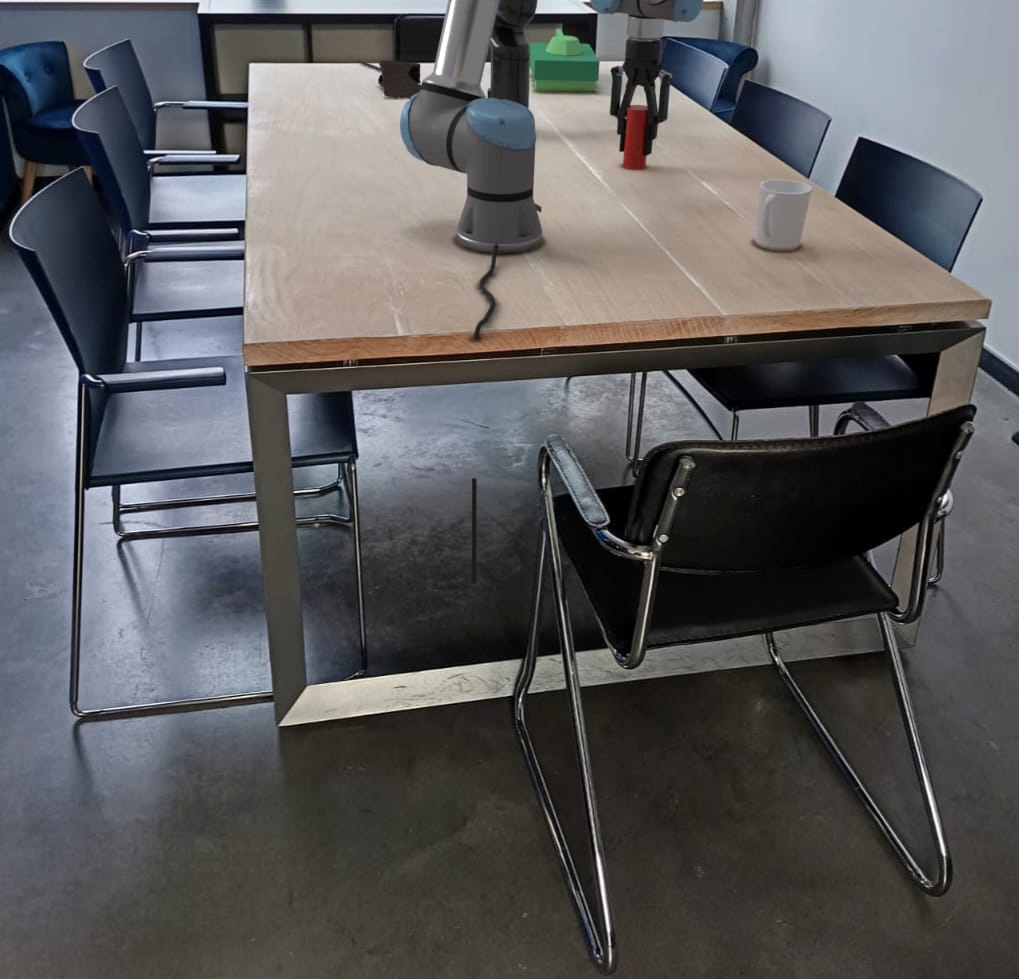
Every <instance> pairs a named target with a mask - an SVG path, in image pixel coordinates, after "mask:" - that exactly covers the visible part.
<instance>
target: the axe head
mask: <svg viewBox="0 0 1019 979" xmlns="http://www.w3.org/2000/svg"><path fill="white" fill-rule="evenodd" d="M378 67H379V68H380V69H381V71H380V72H381V74H379V75H378V79H377V84H378V85H379V86H380V87H381V88H382V89H383V95H384V96H385V97H388V98H394V99H395V98H396V99H403V98H405V99H406V98H407V99H410V98H411V97H412V96H413V95H415V94H418V93H420V90H421V84H422V81H421V63H419V62H410V61H408V62H407V61H397V60H388V59H387V60H380V61H379V62H378Z"/></svg>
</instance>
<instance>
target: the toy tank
mask: <svg viewBox="0 0 1019 979" xmlns="http://www.w3.org/2000/svg"><path fill="white" fill-rule="evenodd" d="M529 44H530V74H531V75H530V76H532V77H533V81H534V91H535V92H536V91H538V92H595V89H596V82H599V78H600V77H599V76H600V62H601V61H600V60H599V58H598V57H597V55H596V53H595V52H594V50H593V48H592V47H591V45H590V43H581V42H580V40H579V38H578V37H576V36H573V35H564V33H563V30H562V29H561V28H555V35H554V36H553V37H551V39H550V41H549V42H529Z"/></svg>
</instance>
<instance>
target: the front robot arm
mask: <svg viewBox="0 0 1019 979" xmlns="http://www.w3.org/2000/svg"><path fill="white" fill-rule="evenodd" d="M589 2H590V4H591V6H592V8H593V9H594V10H595V11H596V12H597V13H599V14H602V15H607V14H608V15H614V14H626V15H627V25H626V36H627V37H628V38H627V39H626V41H625V52H624V62H623V64H622V65H616V66H613V67H611V68H610V75H611V80H612V81H611V91H610V92H611V93H610V106H609V115H610V116H611V117H614V118H616V119H617V126H616V135H618V136H619V148H618V151H619V152H620V153H624V143H625V131H626V118H627V107H628V106H630V105H631V104H632V101H633V98H634V95H635V91H636V88H637V87H638V86H640V87H642V88H643V91H644V93H645V100H646V106H647V108H648V115H649V123H648V124H646V129H645V141H644V153H643V156H646V157H648V156H649V155H651V154H652V152H653V142H654V140H657V137H658V129H659V128H658V127H659V124H662V123H664V122H666V121H667V120H668V115H669V104H670V103H669V102H670V90H671V83H672V81H673V79H674V73H673V72H667V71H665V70H663V67H662V64H661V63H662V62H661V61H662V54H663V43H664V42H663V40H662V38H663V37H664V30H665V21H670V22H674V23H678V22H680V23H681V22H682V23H691V22H693V21H695V19H696V18H698V16H699V15H700V14H701V10H702V7H703V5H704V0H589ZM498 4H499V0H448V1H447V5H446V9H445V15H444V19H443V24H442V28H441V33H440V36H439V37H440V38H439V42H438V46H437V51H436V56H435V61H434V66H433V71H432V72H431V74H429V75H428V76H426V77H425V78H423V79H422V81H421V84H420V86H421V90H420V93H418V94H415V95H413V96H412V97H411V98H409V100H407V101H406V102H405V103H404V106H403V108H402V109H401V113H400V120H399V131H400V136H401V139H402V143H403V144H404V145H405V148H406V150H407V151H408V153H409V154H410V155H411V156H412V157H414V158H415V159H417V160H419V161H421V162H425V164H427V165H429V166H434V167H440V168H443V169H447V170H451V171H453V172H458V173H461V174H465V175H466V192H467V193H466V198H465V202H464V205H463V209H462V211H461V214H460V218H459V220H458V224H457V227H456V241H457V243H458V244H459V245H461V246H462V247H464V248H466V249H468V250H470V251H475V252H479V253H486V254H492V256H491V263H490V268H489V270H488V271H487V272H486V273H485V274H484V275H483V276H482V277H481V278H480V280H479V283H478V285H479V289H480V291H481V292H482V293H483V294H484V295H485V296H486V297H487V298H488V299H489V301H490V305H489V308H488V310H487V311H486V313H485V315H484V317H483V318H482V319H481V320H480V321H478V323H476V327H475V329H474V332H473V341H478V340H479V339H480V338H479V337H480V332H481V330H482V329H481V328H482V327H483V326H484V325H485V324H487V323H488V321H489V320H490V317H491V316H492V314H493V313H494V311H495V307H496V299H495V297H494V295H493V294H492V293H491V292H490V291H489V290H488V289H487V288H486V286H485V282H486V280H488V279H489V278H490V277H491V276H492V274H493V273H494V270H495V268H496V262H497V256H498V255H499V254H500V255H506V254H507V255H508V254H517V253H524V252H527V251H530V250H533V249H536V248H538V247H539V246H540V245H541V244H542V243H543V229H542V224H541V221H540V220H541V219H540V218H539V214H538V213H540V214H541V213H542V206H541V205H539V204H537V203H535V199H534V184H535V162H536V143H537V142H536V141H537V133H536V119H535V115H534V113H533V112H532V111H531V110H530V108H529V109H528V108H527V107H525V106H523V105H521V104H519V103H516V102H513V101H510V100H505V99H504V100H499V99H497V98H487V96H486V94H485V92H484V91H483V89H482V86H481V83H482V79H483V73H484V71H485V66H486V61H487V58H488V57H487V56H488V53H489V49H490V45H489V44H490V40H491V35H492V31H493V27H494V22H495V18H496V13H497V9H498ZM624 74H625V76H626V78H627V81H626V84H625V89H624V93H623V96H622V87H623V76H624ZM658 77H659V81H660V86H659V97H658V101H657V94H656V88H657V86H656V80H657V78H658ZM621 98H622V99H621ZM477 481H478V480H477V478H473V477H472V478H471V584H472V585H476V584H477V503H478V502H477V494H478V493H477V485H478V484H477Z"/></svg>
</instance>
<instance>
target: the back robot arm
mask: <svg viewBox="0 0 1019 979" xmlns="http://www.w3.org/2000/svg"><path fill="white" fill-rule="evenodd" d="M538 2H539V1H538V0H499V4H498V9H497V13H496V18H495V22H494V27H493V31H492V35H491V40H490V44H489V49H490V87H488V89H487V92H486V94H487V96H486V98H497V99H499V100H504V99H505V100H510V101H513V102H516V103H519V104H521V105H523V106H525V107H527V108H528V109H529V110H530V76H531V75H530V74H531V68H530V44H529V43H530V42H529V40H528V38H527V36H526V33H525V26H527V25H528V24H529V23H530V22H531V21H532V20H533V19H534V16H535V14H536V12H537V8H538ZM357 63H358V64H360V65H363V66H367V67H370V68H372V69H375V70H377V71H380V72H381V69H380V66H376V65H374V64H371V63H368V62H365V61H362V60H357Z"/></svg>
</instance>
